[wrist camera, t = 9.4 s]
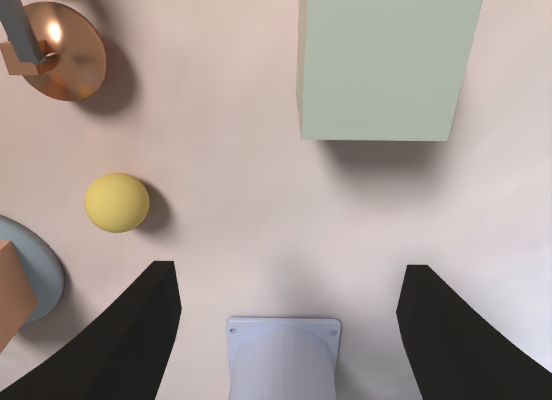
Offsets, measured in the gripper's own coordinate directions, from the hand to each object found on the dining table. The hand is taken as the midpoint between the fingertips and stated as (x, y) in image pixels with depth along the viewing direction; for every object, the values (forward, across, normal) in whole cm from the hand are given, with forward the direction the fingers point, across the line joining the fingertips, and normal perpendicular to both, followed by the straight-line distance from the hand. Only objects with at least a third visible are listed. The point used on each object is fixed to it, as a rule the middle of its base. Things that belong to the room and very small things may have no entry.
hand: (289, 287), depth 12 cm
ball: (+10, +9, +2) cm, 14 cm away
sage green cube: (+10, -3, -6) cm, 12 cm away
